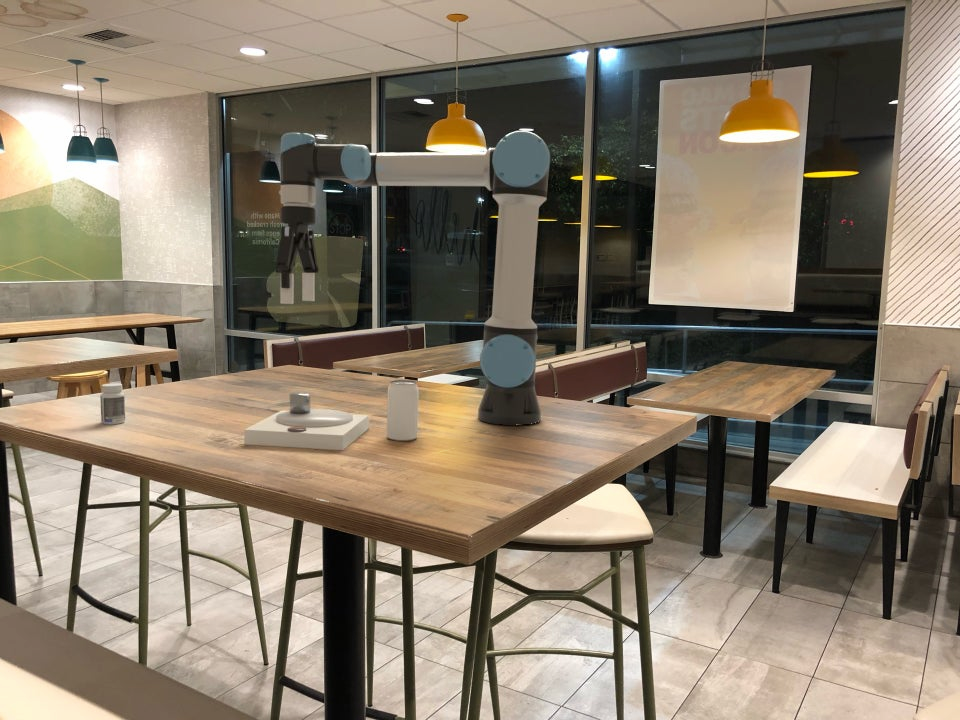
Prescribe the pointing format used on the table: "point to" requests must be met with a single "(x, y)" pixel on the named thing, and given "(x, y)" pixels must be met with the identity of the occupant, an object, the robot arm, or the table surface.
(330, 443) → the scale
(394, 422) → the can
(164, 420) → the table surface
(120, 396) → the pill bottle
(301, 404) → the cylinder
